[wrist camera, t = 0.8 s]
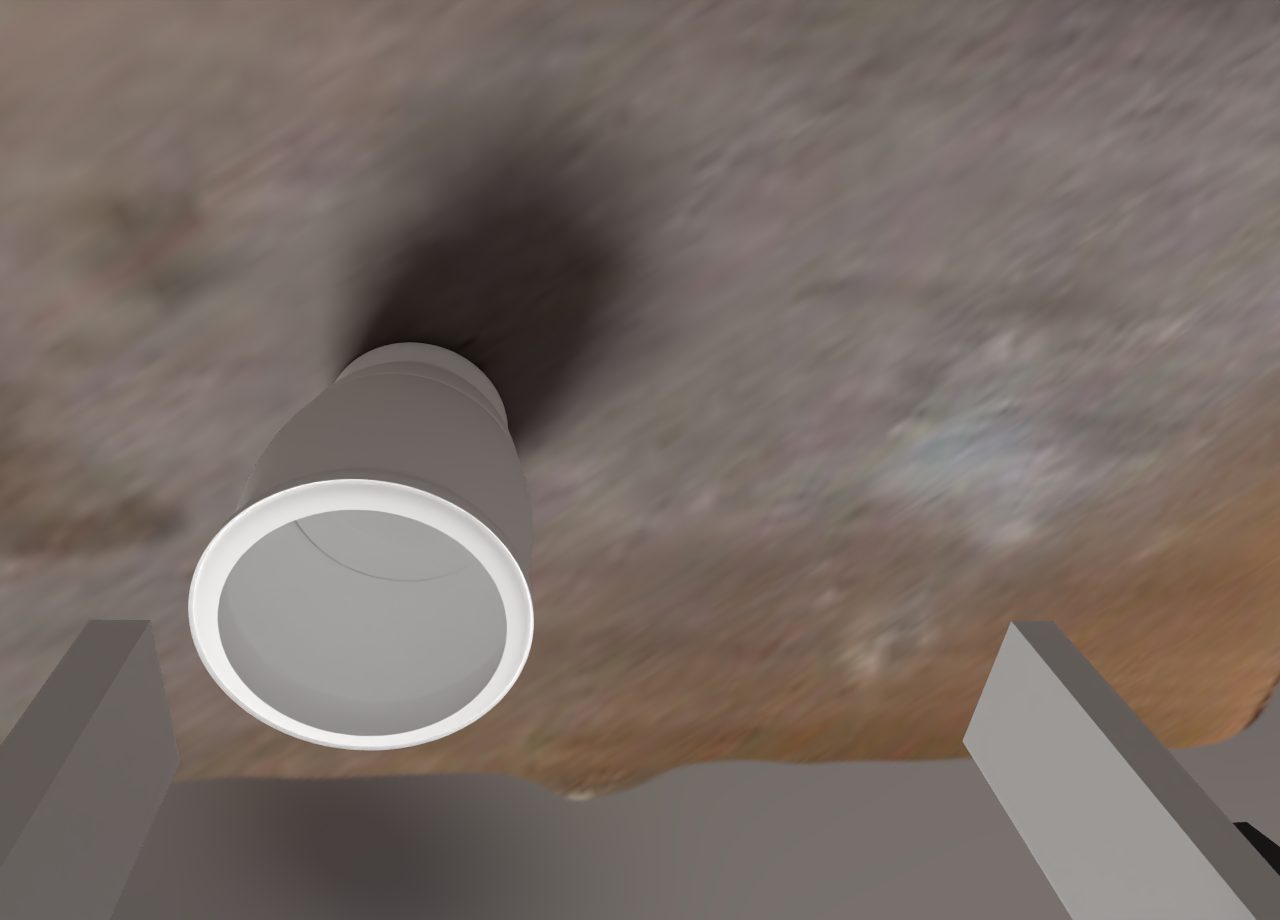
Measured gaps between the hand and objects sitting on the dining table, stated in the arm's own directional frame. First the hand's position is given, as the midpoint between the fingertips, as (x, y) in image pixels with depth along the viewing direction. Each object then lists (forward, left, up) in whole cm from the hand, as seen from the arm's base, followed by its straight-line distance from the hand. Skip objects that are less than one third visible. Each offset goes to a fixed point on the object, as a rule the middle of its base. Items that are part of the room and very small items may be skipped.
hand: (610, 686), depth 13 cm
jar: (+8, -6, -26) cm, 28 cm away
